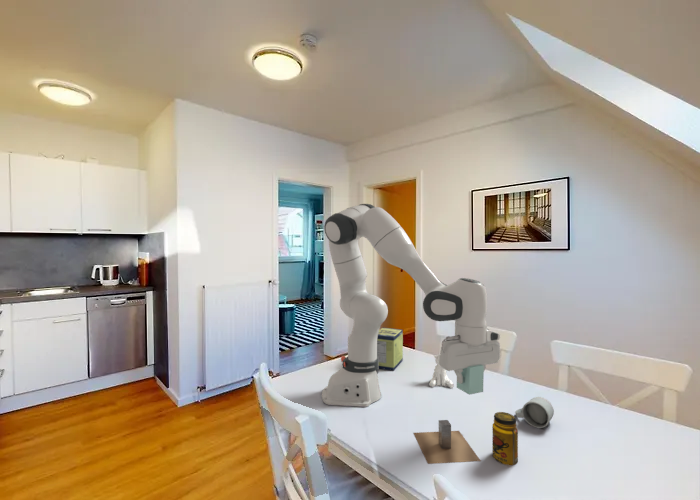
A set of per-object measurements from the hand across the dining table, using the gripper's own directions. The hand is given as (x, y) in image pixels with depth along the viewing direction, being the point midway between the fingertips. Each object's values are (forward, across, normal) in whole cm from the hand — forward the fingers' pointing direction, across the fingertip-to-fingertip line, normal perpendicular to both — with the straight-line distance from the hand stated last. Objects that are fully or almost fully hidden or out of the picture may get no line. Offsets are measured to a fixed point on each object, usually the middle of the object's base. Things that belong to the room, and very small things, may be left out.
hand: (469, 381), depth 97 cm
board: (+17, -10, -2) cm, 20 cm away
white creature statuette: (+17, +18, +34) cm, 42 cm away
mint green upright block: (+2, 0, 0) cm, 2 cm away
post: (+16, -10, -2) cm, 19 cm away
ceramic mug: (+16, +26, -1) cm, 31 cm away
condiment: (+17, +2, -12) cm, 21 cm away
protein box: (+17, +10, +63) cm, 66 cm away
